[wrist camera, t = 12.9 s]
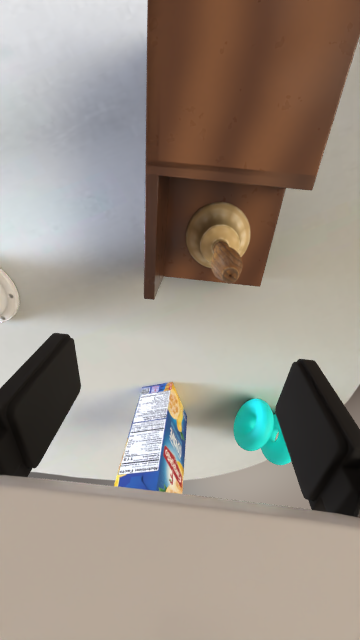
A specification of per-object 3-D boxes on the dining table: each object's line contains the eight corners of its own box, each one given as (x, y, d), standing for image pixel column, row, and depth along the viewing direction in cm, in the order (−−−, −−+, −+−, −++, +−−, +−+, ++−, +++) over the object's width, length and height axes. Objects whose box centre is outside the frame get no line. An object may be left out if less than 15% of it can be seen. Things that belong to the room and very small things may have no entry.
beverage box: (172, 381, 52) (154, 498, 33) (187, 416, 57) (179, 536, 38) (142, 386, 53) (108, 502, 34) (159, 420, 58) (138, 537, 39)
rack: (160, 265, 40) (143, 298, 29) (171, 32, 27) (148, -74, 16) (253, 275, 39) (274, 313, 28) (309, 43, 27) (388, -58, 15)
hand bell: (183, 204, 31) (168, 223, 17) (252, 199, 30) (296, 215, 16) (187, 269, 35) (177, 328, 21) (247, 266, 34) (279, 326, 20)
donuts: (263, 431, 57) (274, 476, 49) (228, 413, 55) (233, 457, 47) (295, 407, 53) (313, 451, 44) (258, 386, 51) (269, 429, 42)
